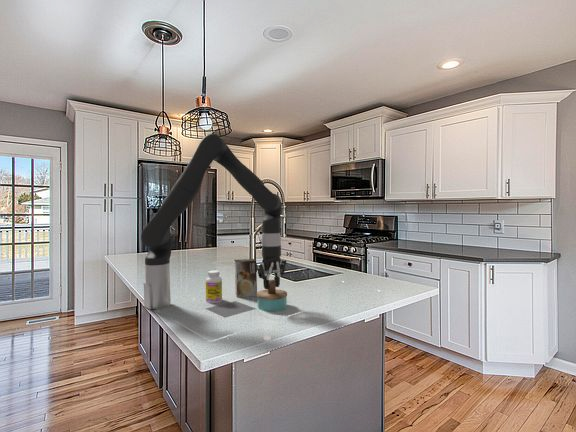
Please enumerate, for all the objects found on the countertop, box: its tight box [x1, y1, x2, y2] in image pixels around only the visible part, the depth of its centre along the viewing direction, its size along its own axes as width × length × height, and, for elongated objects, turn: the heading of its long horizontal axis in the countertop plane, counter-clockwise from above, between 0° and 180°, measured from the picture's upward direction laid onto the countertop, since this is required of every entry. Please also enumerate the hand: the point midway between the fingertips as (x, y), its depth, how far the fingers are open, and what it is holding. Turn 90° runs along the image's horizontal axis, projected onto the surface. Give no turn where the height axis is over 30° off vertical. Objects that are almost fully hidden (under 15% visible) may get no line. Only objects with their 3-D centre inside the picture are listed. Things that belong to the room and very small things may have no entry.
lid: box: [256, 279, 288, 300], centre depth 128 cm, size 12×12×6 cm
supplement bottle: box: [205, 269, 223, 304], centre depth 137 cm, size 7×7×13 cm
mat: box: [204, 300, 256, 318], centre depth 126 cm, size 14×14×1 cm
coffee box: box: [234, 258, 258, 298], centre depth 146 cm, size 9×6×16 cm
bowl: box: [257, 295, 288, 312], centre depth 128 cm, size 11×11×5 cm
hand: (271, 287), depth 128 cm, fingers open, 4 cm apart
